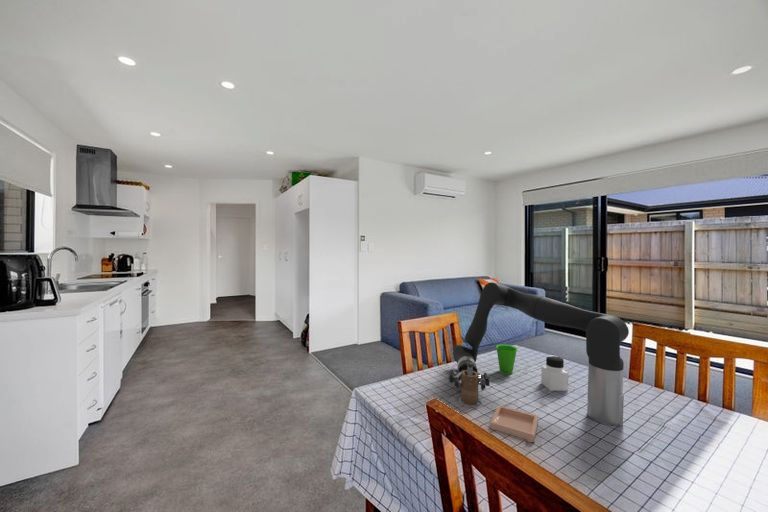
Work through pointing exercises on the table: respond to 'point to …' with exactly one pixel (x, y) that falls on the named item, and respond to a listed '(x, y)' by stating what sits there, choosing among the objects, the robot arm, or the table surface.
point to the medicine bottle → (554, 374)
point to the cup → (506, 358)
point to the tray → (515, 423)
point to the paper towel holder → (470, 373)
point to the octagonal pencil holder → (469, 388)
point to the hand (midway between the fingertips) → (470, 386)
